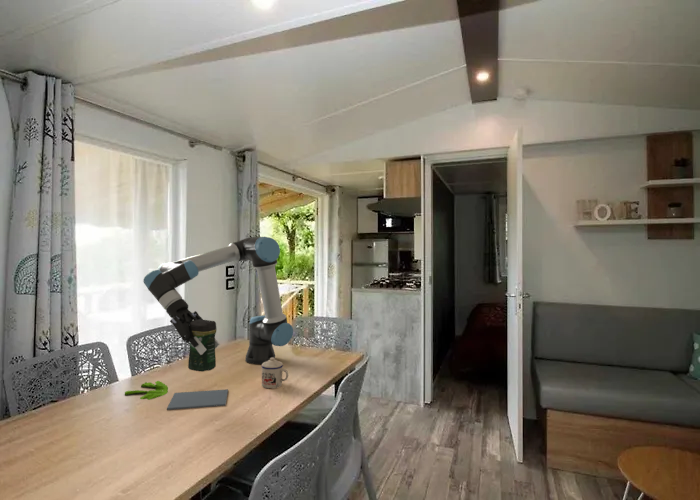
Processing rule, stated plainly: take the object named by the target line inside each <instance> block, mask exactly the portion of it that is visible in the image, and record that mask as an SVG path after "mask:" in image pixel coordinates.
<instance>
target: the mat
mask: <svg viewBox="0 0 700 500" xmlns="http://www.w3.org/2000/svg"><path fill="white" fill-rule="evenodd" d="M228 392H229V389H215V390H214V389H211V390H197V391H183V392H174V393H173V396H172V397H171V400H170V401H169V403H168V406H167V407H166V410H167V411H171V410H172V411H174V410H183V409H196V408H197V409H198V408H199V409H200V408H209V407H211V408H212V407H224V406H225V407H226V405H227V399H228Z"/></svg>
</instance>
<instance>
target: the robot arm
mask: <svg viewBox="0 0 700 500" xmlns="http://www.w3.org/2000/svg"><path fill="white" fill-rule="evenodd" d="M280 252H281V248H280V245H279V243H278V242H277V240H275V239H274V238H272V237H268V236H250V237H246V238H242V239H241V240H237V241H233V242H231V243H229V244H228V245H227V246H223V247H221V248H218V249H215V250H211V251H207V252H203V253H200V254H196V255H193V256H189V257H185V258H182V259H181V258H180V259H179V260H174V261H172V262H171V261H170V262H163V263H161V264H159V266H158V267H157V269H155V270H152V271H150V272H149V273H147V274H145V276H144V277H143V280H142V282H143V284H144V286H146V287H145V288H146V289H147V290H148V292H149V293H151V295H153V297H154V298H155V299H156V300H157V302H158V303H159V305H161V307H162V308H163V309H164V310H165V312H166V313H167V314H168V316H169V317H170V318H171V319H170V320H169V322H170V323H171V324H172V325H173V327H174V329H175V330H176V331H177V333H178V335H179V337H180V338H181V339H182V341H183V342H185V343H187V344H188V343H189V344H190V343H191V344H192V345H193V346H194V347H195V348H196V350H197V351H198V352H199V353H200V355H202V354H203V353H204V352H205V351H206V350H207V349H206V348H205V347H204V346H203V344H202V343H201V342H200V341H199V339H198V338H197V337H194V335H193V333H192V330H191V328H190V323H191V321H194V320H199V319H200V320H204V319H203V318H202V317H201V316H200V315H199V313H198V311H196V310H195V311H194V312H191V311H190V310H189V304H188V303H187V301H186V300H185V299H184V298H183V297H182V296H181V294H180V293H179V292H178V291H177V289H176V288H178V287H180V286H182V285H183V284H186V283H187V282H189V281H191V280H193V279H194V278H196V277H198V276H199V273H200V272H203V271H207V270H209V269H211V268H215V267H219V266H223V265H225V264H228V263H232V262H234V263H239V262H242V261H251V265H252V267H253V268H254V269H255V270H256V271H257V277H258V278H257V279H258V283H259V289H260V295H261V299H262V308H263V312H264V315H256V316H251V317H250V319H249V345H248V348H247V352H246V354H245V362H246V363H249V364H252V365H262V364H263V363H264V362H267V361H268V360H270V358H275V359H276V353H275V350H274V347H275V346H276V347H277V346H278V347H284V346H286V345H288V344H289V342H290V341H291V339H292V338H293V335H294V327H293V326H292V325H291V324H290V323H289V322H288V318H287V315H286V314H285V313H283V307H282V301H281V295H280V290H279V283H278V277H277V272H276V265H277V264H278V259H279V256H280V254H281V253H280ZM193 337H194V338H193ZM219 346H220V343H219V341H218V340H217V339H216V338H215V349H217V348H218V347H219Z"/></svg>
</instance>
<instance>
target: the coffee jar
mask: <svg viewBox="0 0 700 500" xmlns="http://www.w3.org/2000/svg"><path fill="white" fill-rule="evenodd" d="M190 328H191V330H192V333H193V335H194V337H197V338H198V339H199V341H200V342H201V343H202V344H203V346H204V347H205V348H206V349H207V350H206V351H205V352H204V353H203V354H202V355H200V353H199V352H198V351H197V350H196V348H195V347H194V346H193V345H192V344H191V343H190V342H189V353H188V362H187V363H188V365H187V366H188V369H189V371H194V372H195V371H196V372H207V371H212V370H214V369H215V368H216V366H217V363H216V361H217V360H216V348H215V339H216V334H217V323H216V321H215V320H208V319H203V320H200V319H199V320H194V321H191V323H190ZM194 337H193V338H194Z"/></svg>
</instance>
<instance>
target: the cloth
mask: <svg viewBox="0 0 700 500" xmlns="http://www.w3.org/2000/svg"><path fill="white" fill-rule="evenodd" d="M154 382H155V383H152V382H147V381H145V382H144V383H142V384H141V385H140V387H141V388H145V389H152V390H143V389H142V390H139V389H137V390H135V389H134V390H127V391H124V396H130V395H132V396H133V395H142V396H140V398H139V400H148V401H149V400H153V399H157V398H159V397H163V396H165V395H166V394H168V393H169V392H168V391H169V387H168V386H167V385H166V384H165V383H164V382H162V381H159V380H157V381H154Z"/></svg>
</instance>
